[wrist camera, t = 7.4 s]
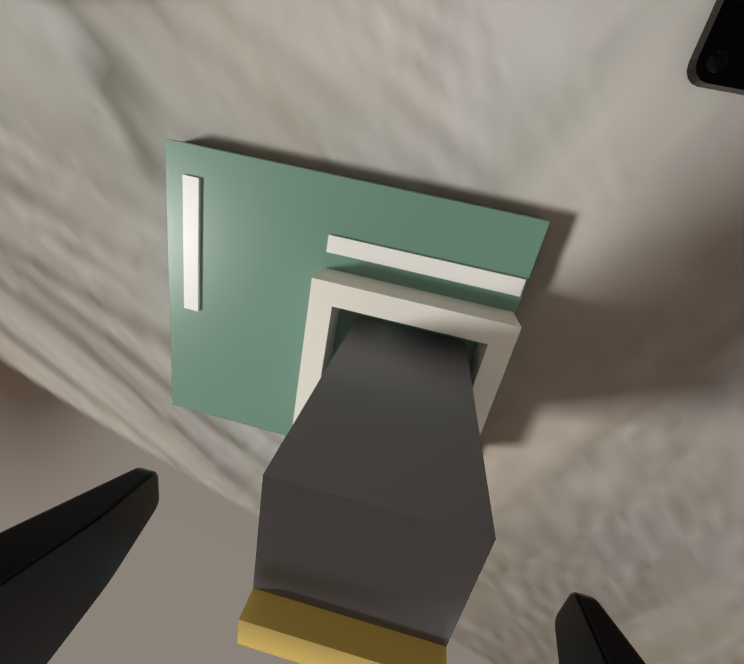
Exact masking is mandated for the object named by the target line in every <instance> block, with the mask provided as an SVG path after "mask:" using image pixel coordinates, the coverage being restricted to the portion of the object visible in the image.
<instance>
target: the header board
mask: <svg viewBox="0 0 744 664" xmlns="http://www.w3.org/2000/svg"><path fill="white" fill-rule="evenodd" d="M165 154H166V189H167V224H168V260H169V295H170V330H171V366H172V401H173V405H176V406H180V407H184V408H187V409H191V410H194V411H198V412H202V413H205V414H209V415H213V416H216V417H220V418H224V419H227V420H231V421H235V422H238V423H242V424H246V425H249V426H253V427H257V428H260V429H264V430H268V431H271V432H275V433H279V434H282V435H286V436H287V434H288V432H289V430H290V429H291V427H292V425H293V424H294V422H295V420H296V419H297V417H298V415H299V414H300V412H301V410H302V409H303V407H304V405H305V404H306V402H307V400H308V399H309V397H310V395H311V394H312V392H313V390H314V388H315V387H316V385H317V383H318V382H319V380H320V378H321V377H322V375H323V373H324V372H325V370H326V368H327V367H328V365H329V363H330V362H331V360H332V358H333V357H334V355H335V353H336V352H337V350H338V348H339V346H340V345H341V343H342V341H343V340H344V338H345V336H346V335H347V333H348V331H349V330H350V328H351V326H352V325H353V323H354V321H355V320H356V318H357V317H359V318H364V319H368V320H372V321H376V322H380V323H385V324H389V325H393V326H397V327H402V328H406V329H410V330H414V331H419V332H423V333H427V334H431V335H436V336H440V337H444V338H448V339H452V340H457V341H461V342H465V343H466V349H467V355H468V362H469V368H470V375H471V381H472V388H473V394H474V401H475V407H476V414H477V420H478V427H479V433H480V435H481V432H482V429H483V427H484V424H485V422H486V419H487V416H488V414H489V411H490V409H491V406H492V404H493V401H494V398H495V396H496V393H497V391H498V388H499V385H500V383H501V380H502V378H503V375H504V373H505V370H506V367H507V365H508V362H509V360H510V357H511V354H512V352H513V349H514V347H515V344H516V341H517V339H518V336H519V334H520V331H521V329H522V327H521V325H520V324H519V322H518V320H517V318H516V316H515V314H516V312H517V309H518V306H519V304H520V301H521V298H522V296H523V293H524V290H525V288H526V285H527V282H528V280H529V277H530V274H531V272H532V269H533V266H534V263H535V261H536V258H537V255H538V253H539V250H540V247H541V245H542V242H543V239H544V237H545V234H546V231H547V229H548V226H549V223H550V222H549V221H547V220H545V219H542V218H537V217H533V216H528V215H523V214H519V213H514V212H509V211H505V210H500V209H495V208H491V207H486V206H481V205H477V204H472V203H467V202H463V201H458V200H453V199H449V198H444V197H440V196H435V195H430V194H426V193H421V192H416V191H412V190H407V189H402V188H398V187H393V186H388V185H384V184H379V183H374V182H370V181H365V180H360V179H356V178H351V177H346V176H342V175H337V174H333V173H328V172H323V171H319V170H314V169H309V168H305V167H300V166H295V165H291V164H286V163H281V162H277V161H272V160H267V159H263V158H258V157H253V156H249V155H244V154H239V153H235V152H230V151H226V150H221V149H216V148H212V147H207V146H202V145H198V144H193V143H188V142H184V141H177V140H169V139H165Z"/></svg>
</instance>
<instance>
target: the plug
mask: <svg viewBox="0 0 744 664" xmlns="http://www.w3.org/2000/svg"><path fill="white" fill-rule="evenodd" d="M495 540H496V538H495V531H494V525H493V518H492V512H491V505H490V499H489V492H488V486H487V479H486V473H485V466H484V460H483V453H482V447H481V440H480V433H479V427H478V420H477V414H476V407H475V401H474V394H473V388H472V381H471V375H470V368H469V362H468V355H467V349H466V343H465V342H461V341H457V340H452V339H448V338H444V337H440V336H436V335H431V334H427V333H423V332H419V331H414V330H410V329H406V328H402V327H397V326H393V325H389V324H385V323H380V322H376V321H372V320H368V319H364V318H359V317H357V318H356V320H355V321H354V323H353V325H352V326H351V328H350V330H349V331H348V333H347V335H346V336H345V338H344V340H343V341H342V343H341V345H340V346H339V348H338V350H337V352H336V353H335V355H334V357H333V358H332V360H331V362H330V363H329V365H328V367H327V368H326V370H325V372H324V373H323V375H322V377H321V378H320V380H319V382H318V383H317V385H316V387H315V388H314V390H313V392H312V394H311V395H310V397H309V399H308V400H307V402H306V404H305V405H304V407H303V409H302V410H301V412H300V414H299V415H298V417H297V419H296V420H295V422H294V424H293V425H292V427H291V429H290V430H289V432H288V434H287V436H286V437H285V439H284V441H283V442H282V444H281V446H280V447H279V449H278V451H277V452H276V454H275V456H274V457H273V459H272V461H271V462H270V464H269V466H268V467H267V469H266V471H265V473H264V474H263V482H262V493H261V505H260V516H259V528H258V540H257V552H256V563H255V573H254V585H253V590H252V592H251V594H250V596H249V598H248V601H247V603H246V605H245V607H244V609H243V612H242V614H241V616H240V618H239V626H238V642H237V643H238V644H241V645H244V646H247V647H250V648H253V649H257V650H260V651H263V652H266V653H269V654H273V655H276V656H279V657H282V658H285V659H288V660H291V661H294V662H298V663H301V664H446V646H447V644H448V642H449V639H450V637H451V635H452V633H453V631H454V628H455V626H456V624H457V622H458V620H459V618H460V615H461V613H462V611H463V609H464V607H465V605H466V602H467V600H468V598H469V596H470V594H471V592H472V589H473V587H474V585H475V583H476V581H477V579H478V576H479V574H480V572H481V570H482V568H483V566H484V563H485V561H486V559H487V557H488V555H489V553H490V550H491V548H492V546H493V544H494V542H495Z"/></svg>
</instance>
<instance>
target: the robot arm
mask: <svg viewBox="0 0 744 664" xmlns="http://www.w3.org/2000/svg"><path fill="white" fill-rule="evenodd" d="M712 54H713V55H715V56H717V58H718V61H719V63H718V67H717V69H716V70H715V71H714V73H711V72H709V71H708V70H707V67H706V63H707V60H708V58H709V57H710V55H712ZM687 76H688V79H689V81H690V82H691V84H693V85H695V86H698V87H703V88H708V89H714V90H719V91H725V92H730V93H736V94H741V95H744V0H716V3H715V5H714V7H713V9H712V12H711V14H710V16H709V18H708V21H707V23H706V25H705V27H704V30H703V32H702V34H701V36H700V39H699V41H698V43H697V45H696V48H695V50H694V52H693V54H692V57H691V59H690V61H689V64H688V68H687ZM158 489H159V487H158V475H157V473H156V472H154V471H151V470H147V469H144V468H136V469H133V470H131V471H129V472H127V473H125V474H123V475H121V476H119V477H116V478H114V479H112V480H110V481H108V482H106V483H104V484H102V485H100V486H98V487H96V488H93V489H91V490H89V491H87V492H85V493H83V494H81V495H79V496H76V497H74V498H72V499H70V500H68V501H66V502H64V503H62V504H60V505H58V506H55V507H53V508H51V509H49V510H47V511H45V512H43V513H41V514H39V515H37V516H34V517H32V518H30V519H28V520H26V521H24V522H22V523H20V524H17V525H16V526H13V527H11V528H9V529H7V530H5V531H3V532H1V533H0V664H47V663H48V662H49V660H50V659H51V658H52V656H53V655H54V654H55V652H56V651H57V650H58V648H59V647H60V646H61V645H62V643H63V642H64V641H65V639H66V638H67V637H68V635H69V634H70V633H71V631H72V630H73V629H74V628H75V626H76V625H77V624H78V622H79V621H80V620H81V618H82V617H83V616H84V614H85V613H86V612H87V611H88V609H89V608H90V607H91V605H92V604H93V603H94V601H95V600H96V599H97V597H98V596H99V595H100V593H101V592H102V591H103V589H104V588H105V587H106V585H107V584H108V583H109V581H110V580H111V578H112V577H113V575H114V574H115V572H116V571H117V569H118V568H119V566H120V564H121V563H122V561H123V560H124V558H125V557H126V555H127V553H128V552H129V550H130V549H131V547H132V546H133V544H134V543H135V541H136V539H137V538H138V536H139V535H140V533H141V531H142V530H143V528H144V527H145V525H146V523H147V522H148V520H149V519H150V517H151V516H152V514H153V513H154V511H155V509H156V507H157V505H158V501H159V490H158ZM555 631H556V641H557V650H558V659H559V664H646V663H645V662H644V661H643V660H642V658H641V657H640V656H639V654H638V653H637V652H636V650H635V649H634V648H633V646H632V645H631V644H630V643H629V641H628V640H627V639H626V637H625V636H624V635H623V633H622V632H621V631H620V630H619V628H618V627H617V626H616V624H615V623H614V622H613V620H612V619H611V618H610V617H609V615H608V614H607V613H606V611H605V610H604V609H603V607H602V606H601V605H600V604H599V602H598V601H597V600H596V599H594V598H593V597H591V596H587V595H584V594H580V593H577V592H573V593H571V594H570V595H569V597H568V598H567V600H566V601H565V603H564V604H563V606H562V608H561V609H560V611H559V612H558V614H557V616H556V620H555Z"/></svg>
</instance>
